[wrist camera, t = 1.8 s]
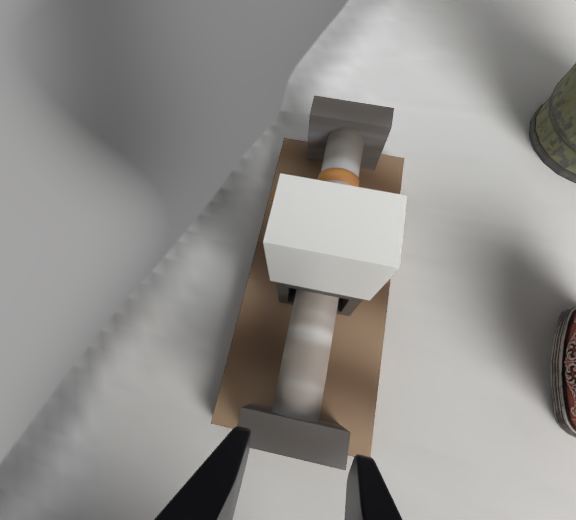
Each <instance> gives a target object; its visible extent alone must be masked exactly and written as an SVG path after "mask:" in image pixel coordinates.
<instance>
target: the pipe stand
mask: <svg viewBox="0 0 576 520" xmlns="http://www.w3.org/2000/svg"><path fill="white" fill-rule="evenodd" d="M393 111H394V108H389V107H383V106H377V105H370V104H364V103H358V102H351V101H345V100H339V99H332V98H326V97H320V96H314V99H313V103H312V108H311V112H310V120H309V134H308V142H305V141H299V140H293V139H287V138H284V141H283V145H282V149H281V153H280V157H279V161H278V165H277V168H276V172H275V176H274V180H273V184H272V188H271V192H270V196H269V200H268V203H267V207H266V211H265V215H264V219H263V223H262V227H261V231H260V235H259V238H258V242H257V246H256V250H255V254H254V258H253V262H252V266H251V270H250V273H249V277H248V281H247V285H246V289H245V293H244V297H243V301H242V305H241V308H240V312H239V316H238V320H237V324H236V328H235V332H234V336H233V340H232V343H231V347H230V351H229V355H228V359H227V363H226V367H225V371H224V375H223V378H222V382H221V386H220V390H219V394H218V398H217V402H216V406H215V410H214V413H213V417H212V421H211V424H216V425H220V426H224V427H228V428H235V427H236V426H240V427H244V428H248V429H250V430H251V440H250V447H249V448H254V449H258V450H262V451H266V452H271V453H275V454H279V455H283V456H288V457H292V458H296V459H300V460H304V461H309V462H313V463H317V464H321V465H326V466H330V467H334V468H338V469H343V470H346V464H347V456H348V455H349V456H353V457H355V456H356V455H357V454H360V455H364V456H368V457H370V453H371V444H372V435H373V426H374V418H375V409H376V400H377V391H378V383H379V374H380V365H381V356H382V348H383V339H384V330H385V321H386V313H387V304H388V295H389V286H390V279H389V280H388V281H387V282H386V284H385V285H384V286H383V287H382V288H381V289H380V290H379V291H378V292H377V293H376V294H375V295H374V297H373V298H372V299H371V300H370V301H369V300H363V301H362V302H361V303H360V304H359V305H358V307H357V308H356V309H355V310H354V311H353V313H352V314H351V315H350V316H345V315H340V314H336V313H337V307H338V301H339V298H338V297H333V296H328V295H323V294H318V293H313V292H308V291H303V290H298V289H296V294H295V299H294V304H293V305H291V304H286V303H281V302H279V300H278V293H277V285H276V282H274V281H270V277H269V272H268V266H267V261H266V256H265V250H264V245H263V240H264V236H265V232H266V228H267V224H268V220H269V216H270V212H271V208H272V204H273V200H274V196H275V192H276V188H277V184H278V180H279V176H280V173H281V174H287V175H293V176H298V177H304V178H310V179H316V180H321V181H327V182H333V183H338V184H344V185H350V186H355V187H361V188H367V189H372V190H378V191H384V192H390V193H395V194H400V190H401V181H402V172H403V164H404V158H400V157H394V156H388V155H382V154H381V153H382V150H383V148H384V145H385V142H386V140H387V137H388V135H389V132H390V130H391V126H392V119H393Z"/></svg>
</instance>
